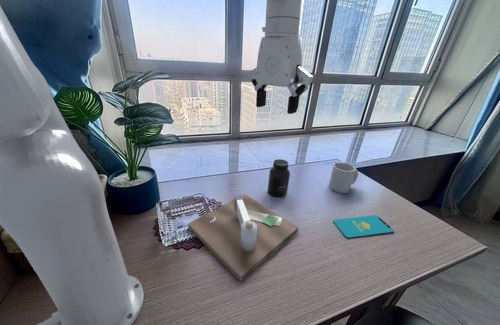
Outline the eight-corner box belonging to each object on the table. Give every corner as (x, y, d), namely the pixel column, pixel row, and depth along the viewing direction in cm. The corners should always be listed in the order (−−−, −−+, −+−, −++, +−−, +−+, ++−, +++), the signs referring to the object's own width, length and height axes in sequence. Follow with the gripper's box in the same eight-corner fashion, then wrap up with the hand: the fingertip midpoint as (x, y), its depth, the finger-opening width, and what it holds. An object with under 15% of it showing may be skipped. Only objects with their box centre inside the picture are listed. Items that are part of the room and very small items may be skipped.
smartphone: (332, 219, 62) (376, 214, 65) (331, 221, 62) (376, 216, 65) (346, 238, 56) (395, 231, 58) (346, 240, 56) (394, 233, 59)
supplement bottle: (282, 201, 70) (286, 168, 65) (264, 194, 73) (266, 163, 68) (290, 191, 75) (294, 161, 70) (272, 185, 78) (275, 156, 73)
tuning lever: (257, 250, 49) (259, 227, 46) (242, 253, 48) (243, 229, 45) (243, 211, 62) (244, 191, 58) (231, 213, 61) (231, 192, 58)
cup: (325, 183, 81) (329, 162, 77) (348, 181, 83) (353, 161, 79) (335, 194, 75) (341, 172, 71) (360, 192, 77) (367, 170, 73)
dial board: (240, 281, 44) (240, 275, 43) (188, 227, 57) (187, 222, 56) (297, 231, 58) (298, 226, 57) (244, 197, 71) (244, 193, 70)
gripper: (241, 30, 49) (240, 106, 56) (309, 25, 38) (297, 118, 46) (262, 33, 54) (259, 102, 61) (327, 30, 43) (313, 113, 51)
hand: (275, 109), depth 53 cm, fingers open, 9 cm apart
